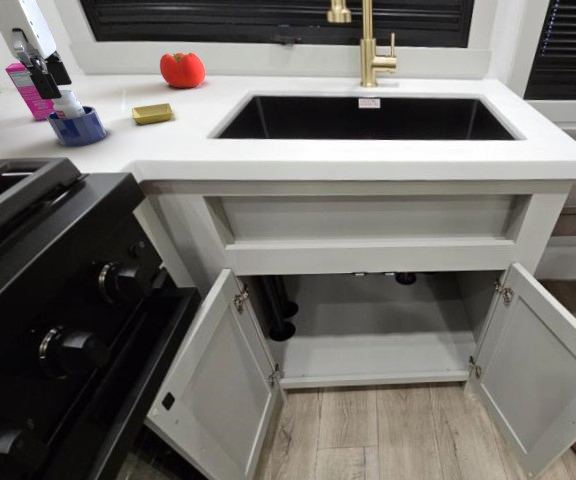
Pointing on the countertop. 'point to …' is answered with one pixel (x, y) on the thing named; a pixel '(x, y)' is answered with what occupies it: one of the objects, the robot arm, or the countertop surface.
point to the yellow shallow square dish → (152, 113)
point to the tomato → (182, 70)
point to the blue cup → (77, 128)
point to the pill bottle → (68, 105)
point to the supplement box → (29, 91)
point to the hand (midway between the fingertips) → (58, 91)
